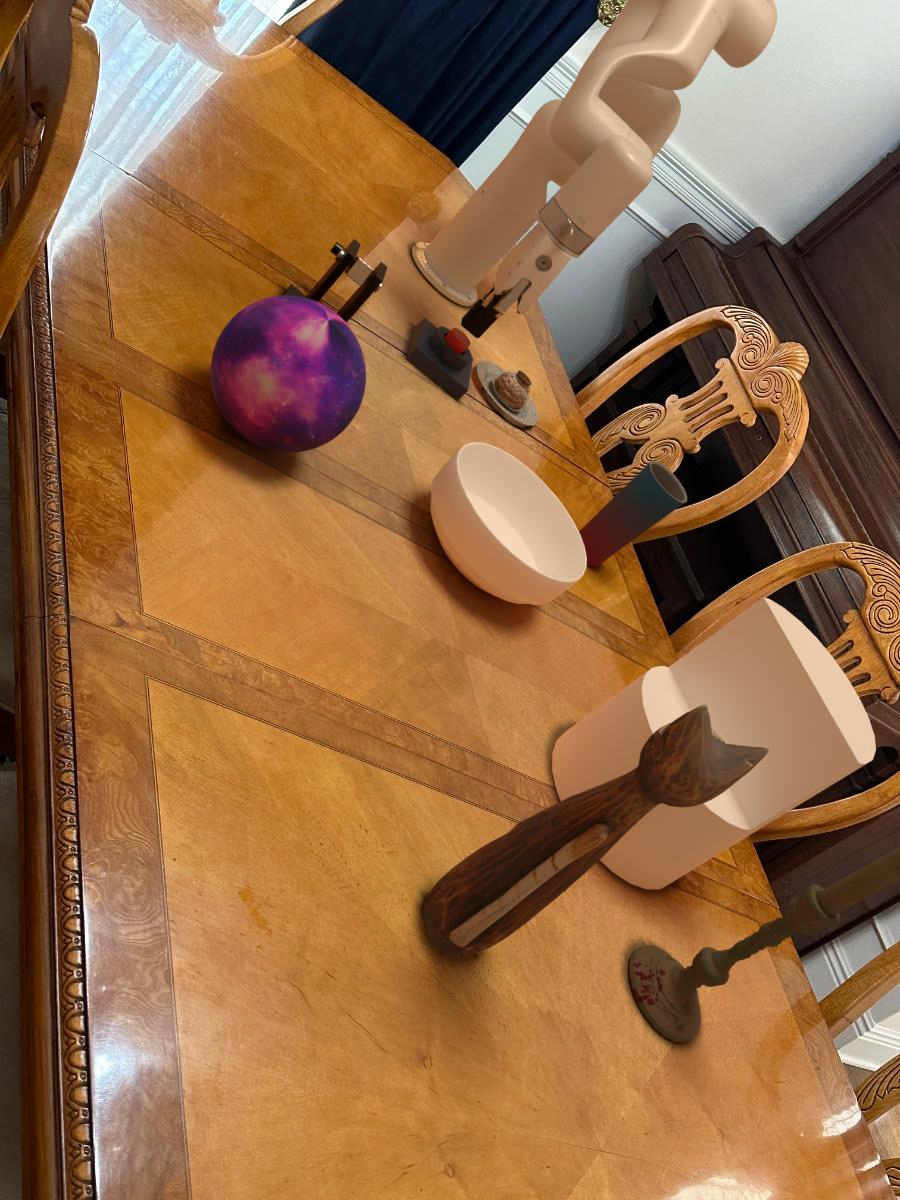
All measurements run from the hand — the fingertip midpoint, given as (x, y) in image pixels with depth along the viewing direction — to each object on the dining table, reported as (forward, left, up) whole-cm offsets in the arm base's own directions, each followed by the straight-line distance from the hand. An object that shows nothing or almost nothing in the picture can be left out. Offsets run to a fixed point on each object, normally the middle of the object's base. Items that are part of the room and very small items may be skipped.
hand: (469, 329), depth 155 cm
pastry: (-6, +12, -7) cm, 15 cm away
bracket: (+17, -18, -7) cm, 26 cm away
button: (0, 0, -3) cm, 3 cm away
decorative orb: (+43, -20, -7) cm, 48 cm away
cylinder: (+60, +32, -7) cm, 68 cm away
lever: (+13, -18, 0) cm, 22 cm away
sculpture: (+86, +12, -7) cm, 87 cm away
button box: (0, 0, -7) cm, 7 cm away
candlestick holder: (+80, +37, -7) cm, 88 cm away
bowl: (+36, +10, -7) cm, 38 cm away
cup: (+17, +28, -7) cm, 33 cm away
